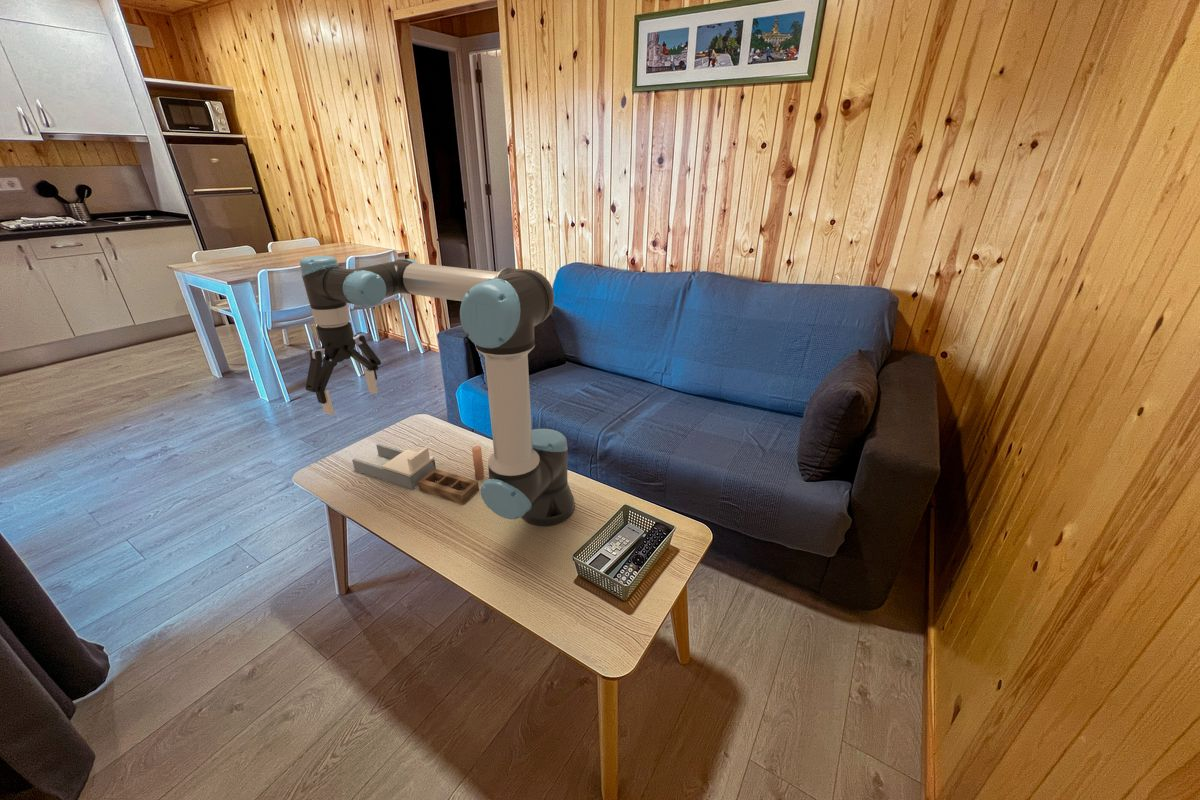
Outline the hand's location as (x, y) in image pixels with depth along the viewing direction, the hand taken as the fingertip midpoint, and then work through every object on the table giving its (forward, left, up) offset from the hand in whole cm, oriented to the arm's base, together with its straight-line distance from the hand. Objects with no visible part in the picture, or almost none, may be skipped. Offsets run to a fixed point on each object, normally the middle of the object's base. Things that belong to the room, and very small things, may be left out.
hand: (352, 402), depth 120 cm
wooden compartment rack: (-20, -8, -28) cm, 35 cm away
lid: (-5, -9, -23) cm, 26 cm away
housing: (+1, -9, -28) cm, 29 cm away
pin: (-24, -17, -28) cm, 41 cm away
